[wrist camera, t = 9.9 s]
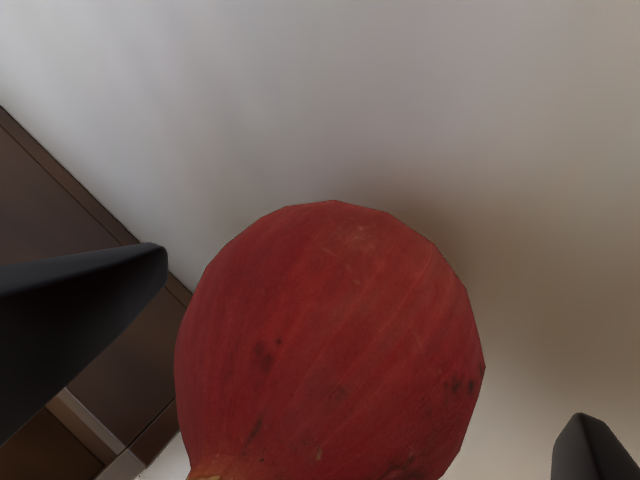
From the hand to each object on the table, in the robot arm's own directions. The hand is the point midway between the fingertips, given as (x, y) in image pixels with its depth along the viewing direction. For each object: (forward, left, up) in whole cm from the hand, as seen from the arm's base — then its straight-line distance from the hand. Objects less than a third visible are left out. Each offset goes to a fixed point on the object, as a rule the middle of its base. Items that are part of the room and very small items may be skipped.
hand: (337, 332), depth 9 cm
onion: (0, 0, -4) cm, 4 cm away
